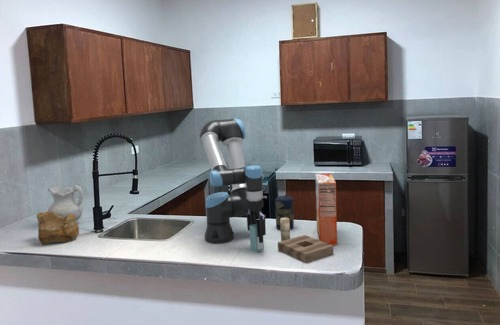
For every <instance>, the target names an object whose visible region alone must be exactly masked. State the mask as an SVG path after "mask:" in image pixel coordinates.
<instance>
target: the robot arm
mask: <svg viewBox="0 0 500 325" xmlns="http://www.w3.org/2000/svg"><path fill="white" fill-rule="evenodd" d="M245 138H246V129H245V125H244V123H243V121H242V120H241V119H239V118H228V119H212V120H210V121H208V122H206V123H205V124H204V125H203V126H202V128H201V130H200V131H199V141H200V144H201V145H202V147H204V150H205V154H206V156H207V160H208V164H209V165H210V169H211V171H209V183H210V185H211V186H212V187H223V186H231V187H232V189H231V190H230V194H229V192H226V191H220V192H215V193H211V194H208V196H207V197H206V198H205V213H206V227H205V232H204V241H205V242H207V243H209V244H224V243H228V242H231V241H233V240H234V239H235V233H234V229H233V227H232V225H231V218H240V217H245V216H246V222H247V223H246V225H247V226H246V227H247V231H249V232H250V225H253V224H256V227H257V233H258V235H257V249H258V250H259V249H263V242H264V236H266V235H267V234H266V233H267V232H266V231H267V230H266V217H267V215H266V214H263V211H262V208H264V199H263V198H264V195H263V192H264V191H263V172H262V167H261V165H257V164H256V165H254V164H253V165H247V166H246V165H245V159H244V153H243V148H242V144H243V142H244V139H245ZM219 142H221V145H222V146H223V147H224V148H225V151H226V157H227V158H226V159H227V164H228V166H227V164H226V160H225V159H224V155H223V153H222V150H221V147H220V144H219Z"/></svg>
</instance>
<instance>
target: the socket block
mask: <svg viewBox="0 0 500 325" xmlns="http://www.w3.org/2000/svg"><path fill="white" fill-rule="evenodd" d="M277 251H279V252H280V253H283V254H285V255H287V256H290V257H292V258H294V259H295V260H298V261H300V262H302V263H304V264H307V263H310V262H313V261H317V260H319V259H323V258H325V257H328V256H329V257H330V256H333V255H334V245H330V244H327V243H325V242H322V241H319V239H316V238H315V237H312V236H308V235H307V234H302V235H300V236H299V235H298V236H296V237H295V236H294V237H292V238H291V237H290V239H288V240H284V241H281V240H280V241H278V242H277Z"/></svg>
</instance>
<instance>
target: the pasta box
mask: <svg viewBox="0 0 500 325" xmlns="http://www.w3.org/2000/svg"><path fill="white" fill-rule="evenodd" d="M334 178H335V177H333V174H332V173H315V201H316V202H315V205H316V208H315V209H316V211H315V212H316V213H315V214H316V233H317V236H318V237H317V238H318V240H319V241H322V242H325V243H327V244H330V245H332V246H334V245H335V246H337V245H338V226H337V225H338V222H337V221H338V218H337V182H336V180H335V179H334Z"/></svg>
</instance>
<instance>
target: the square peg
mask: <svg viewBox="0 0 500 325" xmlns="http://www.w3.org/2000/svg"><path fill="white" fill-rule="evenodd" d="M249 235H250V236H249V238H250V239H249V240H250V250H251V251H253V252H255V253H257V252H262V251H264V250H265V247H264V246H265V245H264V244H265V243H264V241H263V249H259V250H258V249H257V235H258V233H257V227H256V224H253V225H250V231H249Z"/></svg>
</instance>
